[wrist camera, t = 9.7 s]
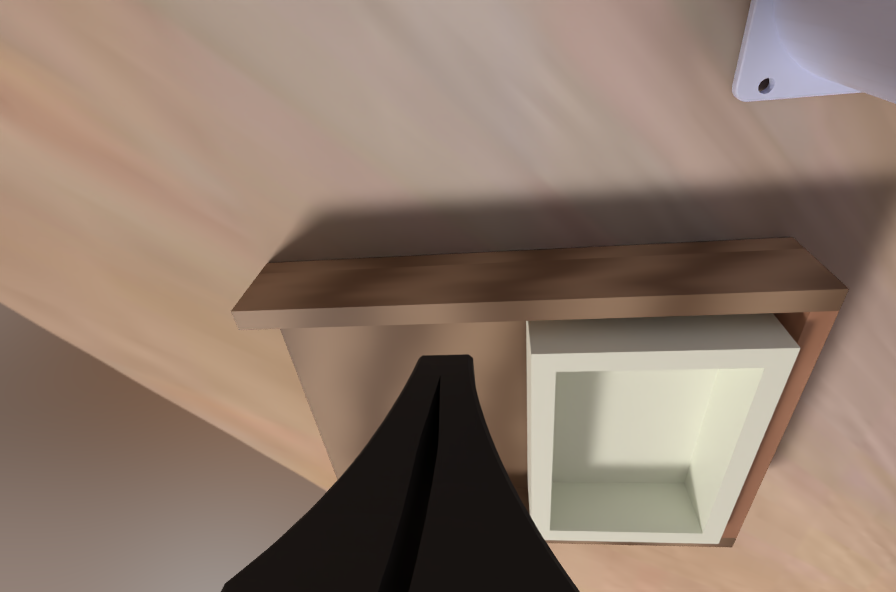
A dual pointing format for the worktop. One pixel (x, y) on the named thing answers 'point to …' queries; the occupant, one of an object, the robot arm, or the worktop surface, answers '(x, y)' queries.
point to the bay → (520, 326)
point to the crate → (648, 422)
